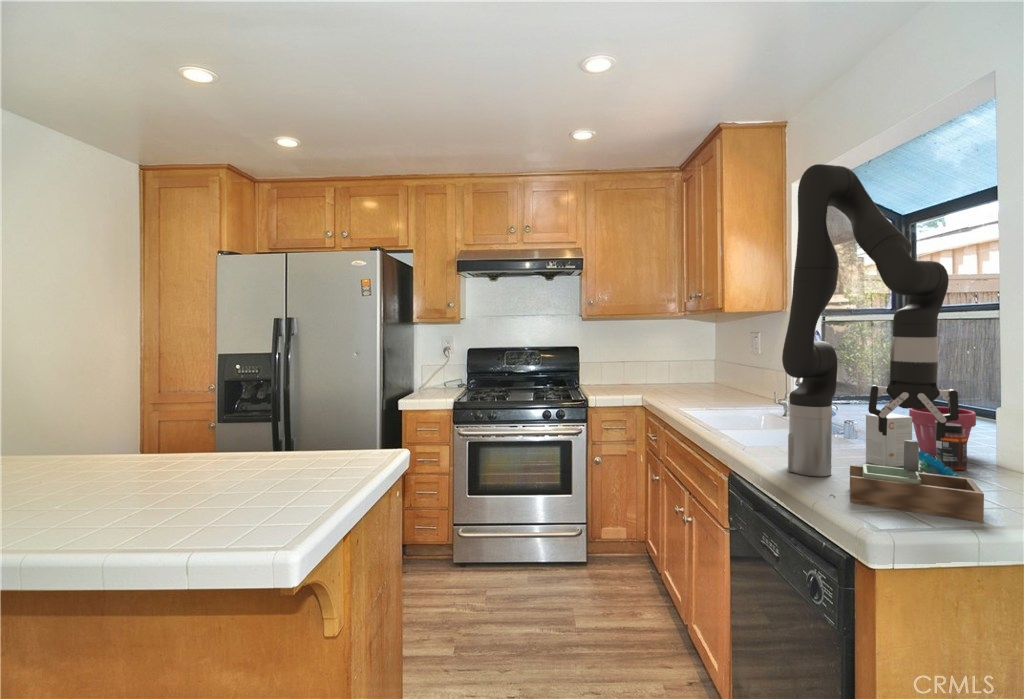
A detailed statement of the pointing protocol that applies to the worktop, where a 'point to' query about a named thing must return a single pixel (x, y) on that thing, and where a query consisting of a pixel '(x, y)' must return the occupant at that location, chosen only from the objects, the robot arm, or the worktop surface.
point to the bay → (920, 495)
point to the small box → (887, 440)
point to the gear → (933, 465)
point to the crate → (898, 474)
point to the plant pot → (926, 426)
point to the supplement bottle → (953, 448)
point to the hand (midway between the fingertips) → (910, 437)
